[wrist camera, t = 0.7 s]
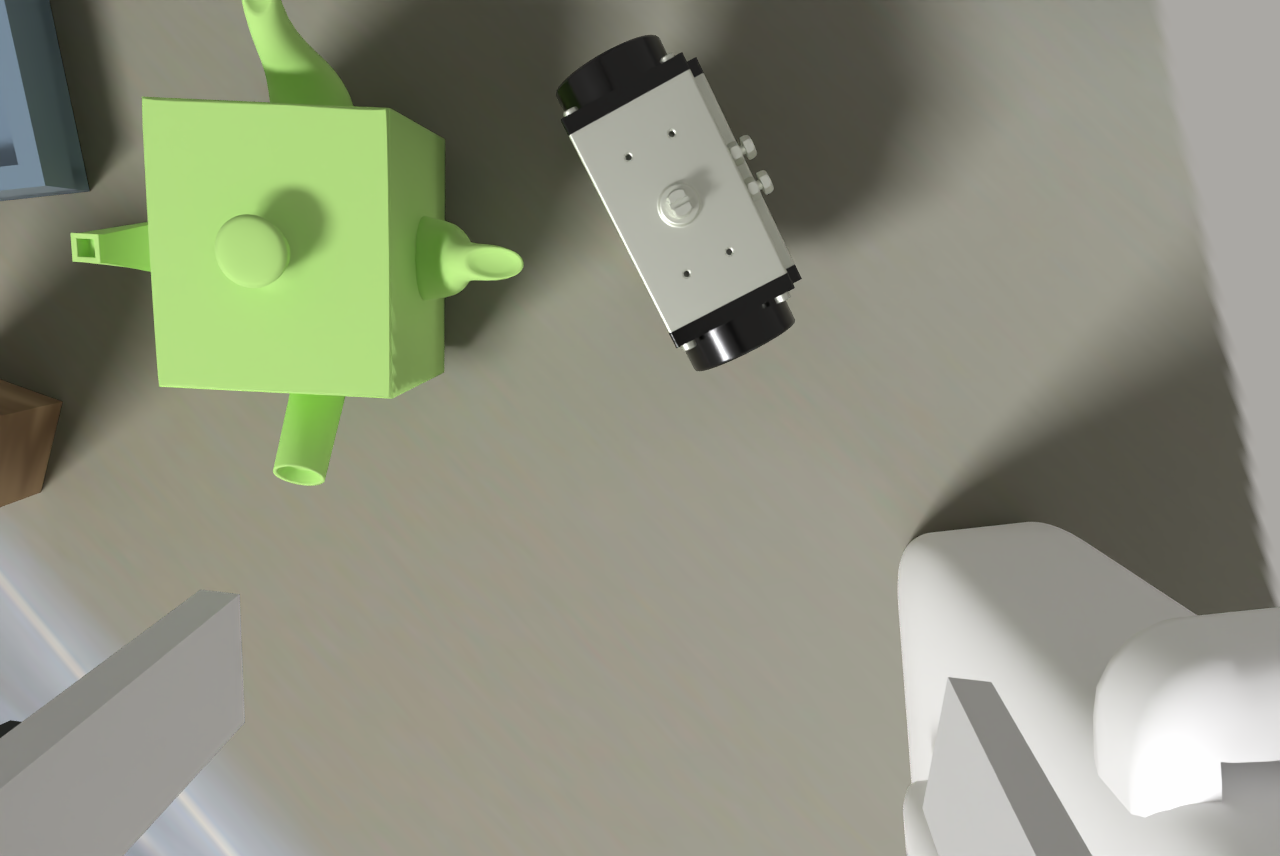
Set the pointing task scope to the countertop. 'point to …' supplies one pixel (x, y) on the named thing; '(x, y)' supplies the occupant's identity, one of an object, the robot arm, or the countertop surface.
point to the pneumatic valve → (682, 198)
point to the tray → (35, 107)
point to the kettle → (295, 245)
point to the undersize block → (24, 440)
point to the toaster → (1098, 689)
